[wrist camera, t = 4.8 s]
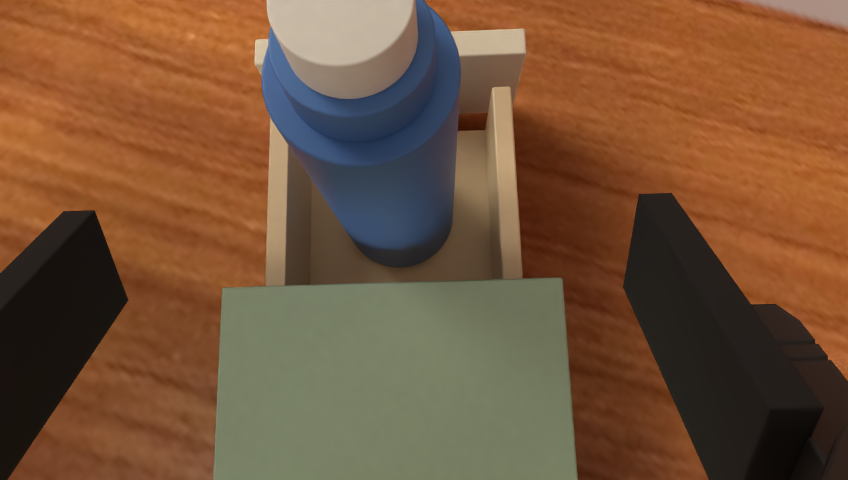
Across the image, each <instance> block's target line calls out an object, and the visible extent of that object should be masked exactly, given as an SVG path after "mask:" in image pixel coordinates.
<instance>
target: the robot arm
mask: <svg viewBox="0 0 848 480" xmlns="http://www.w3.org/2000/svg"><path fill="white" fill-rule="evenodd" d="M623 288H624V290H625V293H626V295H627V297H628V299H629V302H630V304H631V306H632V308H633V311H634V313H635V315H636V317H637V319H638V322H639V324H640V326H641V328H642V331H643V333H644V335H645V337H646V340H647V342H648V344H649V346H650V349H651V351H652V353H653V355H654V358H655V360H656V362H657V364H658V366H659V369H660V371H661V373H662V375H663V378H664V380H665V382H666V384H667V387H668V389H669V391H670V393H671V396H672V398H673V400H674V402H675V405H676V407H677V409H678V411H679V414H680V416H681V418H682V420H683V422H684V425H685V427H686V429H687V431H688V434H689V436H690V438H691V440H692V443H693V445H694V447H695V449H696V452H697V454H698V456H699V458H700V461H701V463H702V465H703V467H704V469H705V472H706V474H707V476H708V478H709V480H848V381H847V380H846V379H845V377H844V376H843V375H842V374H841V372H840V371H839V370H838V368H837V367H836V366H835V365H834V363H833V362H832V361H831V360H828V356H827V355H826V353H825V352H824V351H823V350H822V348H821V347H820V346H819V344H815V339H814V338H813V337H812V336H811V334H810V333H809V332H808V331H807V329H806V328H805V327H804V326H803V324H802V323H801V322H800V321H799V320H798V319H797V318H795V317H794V316H792V315H791V314H789V313H788V312H786V311H785V310H784V309H782V308H781V307H779V306H778V305H776V304H755V305H751V304H750V303H749V301H748V300H747V298H746V297H745V296H744V294H743V293H742V291H741V290H740V289H739V287H738V286H737V284H736V283H735V282H734V280H733V279H732V277H731V276H730V274H729V273H728V272H727V270H726V269H725V267H724V266H723V265H722V263H721V262H720V260H719V259H718V258H717V256H716V255H715V253H714V252H713V251H712V249H711V248H710V246H709V245H708V244H707V242H706V241H705V239H704V238H703V237H702V235H701V234H700V232H699V231H698V230H697V228H696V227H695V225H694V224H693V223H692V221H691V220H690V218H689V217H688V216H687V214H686V213H685V211H684V210H683V209H682V207H681V206H680V204H679V203H678V202H677V200H676V199H675V197H674V196H673V195H672V193H659V194H639V197H638V202H637V208H636V214H635V220H634V226H633V232H632V238H631V244H630V250H629V256H628V262H627V268H626V273H625V279H624V285H623ZM127 301H128V298H127V296H126V293H125V290H124V288H123V285H122V282H121V280H120V277H119V274H118V272H117V269H116V266H115V264H114V261H113V258H112V256H111V253H110V250H109V248H108V245H107V242H106V240H105V237H104V234H103V232H102V229H101V226H100V224H99V221H98V218H97V216H96V213H95V210H94V211H64V212H63V213H61V214H60V215H59V216H58V217H57V218H56V219H55V220H54V221H53V222H52V223H51V224H50V225H49V226H48V227H47V228H46V229H45V230H44V231H43V232H42V233H41V234H40V235H39V236H38V237H37V238H36V239H35V240H34V241H33V242H32V243H31V244H30V245H29V246H28V247H27V248H26V249H25V250H24V251H23V252H22V253H21V254H20V255H19V256H18V257H17V258H16V259H15V260H13V261H12V262H11V263H10V264H9V265H8V266H7V267H6V268H5V269H4V270H3V271H2V272H1V273H0V480H7V479H8V478H9V477H10V475H11V474H12V472H13V471H14V469H15V468H16V466H17V465H18V463H19V462H20V460H21V459H22V457H23V456H24V454H25V453H26V451H27V450H28V448H29V447H30V445H31V444H32V442H33V441H34V439H35V438H36V436H37V435H38V433H39V432H40V430H41V429H42V428H43V426H44V425H45V423H46V422H47V420H48V419H49V417H50V416H51V414H52V413H53V411H54V410H55V408H56V407H57V405H58V404H59V402H60V401H61V399H62V398H63V396H64V395H65V393H66V392H67V390H68V389H69V387H70V386H71V384H72V383H73V382H74V380H75V379H76V377H77V376H78V374H79V373H80V371H81V370H82V368H83V367H84V365H85V364H86V362H87V361H88V359H89V358H90V356H91V355H92V353H93V352H94V350H95V349H96V347H97V346H98V344H99V343H100V341H101V340H102V338H103V337H104V335H105V334H106V333H107V331H108V330H109V328H110V327H111V325H112V324H113V322H114V321H115V319H116V318H117V316H118V315H119V313H120V312H121V310H122V309H123V307H124V306H125V304H126V303H127Z"/></svg>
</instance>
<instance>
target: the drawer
mask: <svg viewBox="0 0 848 480" xmlns="http://www.w3.org/2000/svg"><path fill="white" fill-rule="evenodd" d="M451 34H452V36H453V38H454V40H455V43H456V46H457V48H458V52H459V57H460V64H461V83H460V100H459V114H472V113H488V115H487V121H486V127H485V130H471V131H458V135H457V153H456V171H455V188H454V206H453V221H452V227H451V231H450V233H449V236H448V238H447V240H446V242H445V243H444V245H443V246H442V247H441V249H440V250H439V251H438V252H437V253H436V254H434V255H433V256H432V257H431V258H429V259H428V260H426V261H424V262H422V263H420V264H417V265H414V266H410V267H402V268H396V267H388V266H384V265H381V264H378V263H376V262H374V261H372V260H370V259H369V258H368V257H366V256H365V255H364V254H363V253H362V252H361V251H360V250H359V249H358V248H357V247H356V245H355V244H354V242H353V241H352V239H351V238H350V236H349V235H348V233H347V232H346V230H345V229H344V227H343V226H342V224H341V223H340V221H339V220H338V218H337V217H336V215H335V214H334V212H333V211H332V209H331V208H330V206H329V205H328V203H327V202H326V200H325V199H324V198H323V196H322V195H321V193H320V192H319V190H318V189H317V187H316V186H315V184H314V183H313V181H312V180H311V178H310V177H309V175H308V174H307V172H306V171H305V169H304V168H303V166H302V165H301V163H300V162H299V160H298V159H297V157H296V156H295V154H294V153H293V151H292V150H291V148H290V147H289V145H288V144H287V142H286V141H285V139H284V138H283V136H282V135H281V133H280V132H279V130H278V129H277V127H276V126H275V124H274V123H273V121H272V119H271V117H270V147H269V179H268V211H267V243H266V275H265V286H287V285H320V284H353V283H385V282H418V281H451V280H484V279H517V278H523V271H522V255H521V239H520V223H519V207H518V191H517V175H516V159H515V142H514V126H513V110H512V108H513V104H514V100H515V96H516V92H517V88H518V84H519V80H520V76H521V72H522V69H523V65H524V61H525V57H526V38H525V30H524V29H505V30H480V31H456V32H451ZM267 47H268V39H259V40H256V41H255V66H256V67H257V69H258V71H259V72H260V74H261V76H262V67H263V61H264V57H265V54H266V50H267Z"/></svg>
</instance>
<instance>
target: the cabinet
mask: <svg viewBox="0 0 848 480" xmlns="http://www.w3.org/2000/svg"><path fill="white" fill-rule="evenodd" d="M213 480H578V473H577V460H576V447H575V434H574V421H573V408H572V395H571V381H570V368H569V355H568V342H567V329H566V316H565V303H564V290H563V279H562V278H561V277H549V278H517V279H484V280H451V281H418V282H385V283H353V284H320V285H287V286H254V287H225V288H223V289H222V304H221V325H220V346H219V368H218V389H217V410H216V432H215V453H214V475H213Z"/></svg>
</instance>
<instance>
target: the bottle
mask: <svg viewBox="0 0 848 480" xmlns="http://www.w3.org/2000/svg"><path fill="white" fill-rule="evenodd" d="M267 13H268V18H269V22H270V25H271V28H270V33H269V39H268V47H267V50H266V54H265V57H264V61H263V67H262V92H263V98H264V101H265V105H266V108H267V111H268V113H269V115H270V117H271V119H272V121H273V123H274V124H275V126H276V127H277V129H278V130H279V132H280V133H281V135H282V136H283V138H284V139H285V141H286V142H287V144H288V145H289V147H290V148H291V150H292V151H293V153H294V154H295V156H296V157H297V159H298V160H299V162H300V163H301V165H302V166H303V168H304V169H305V171H306V172H307V174H308V175H309V177H310V178H311V180H312V181H313V183H314V184H315V186H316V187H317V189H318V190H319V192H320V193H321V195H322V196H323V198H324V199H325V200H326V202H327V203H328V205H329V206H330V208H331V209H332V211H333V212H334V214H335V215H336V217H337V218H338V220H339V221H340V223H341V224H342V226H343V227H344V229H345V230H346V232H347V233H348V235H349V236H350V238H351V239H352V241H353V242H354V244H355V245H356V247H357V248H358V249H359V250H360V251H361V252H362V253H363V254H364V255H365V256H366V257H368V258H369V259H370V260H372V261H374V262H376V263H378V264H381V265H384V266H388V267H396V268H402V267H410V266H414V265H417V264H420V263H422V262H424V261H426V260H428V259H429V258H431V257H432V256H433V255H434V254H436V253H437V252H438V251H439V250H440V249H441V247H442V246H443V245H444V243H445V242H446V240H447V238H448V236H449V233H450V231H451V227H452V221H453V206H454V188H455V171H456V153H457V135H458V118H459V100H460V83H461V64H460V57H459V52H458V48H457V46H456V43H455V40H454V38H453V36H452V34H451V32H450V30H449V28H448V27H447V25H446V24H445V23H444V21H443V20H442V19H441V17H440V16H439V15H438V14H437V13H436V12H435V11H434V10H433V9H432V8H431V7H429V6H428V5H427V4H426V2H425V1H424V0H267Z"/></svg>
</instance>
